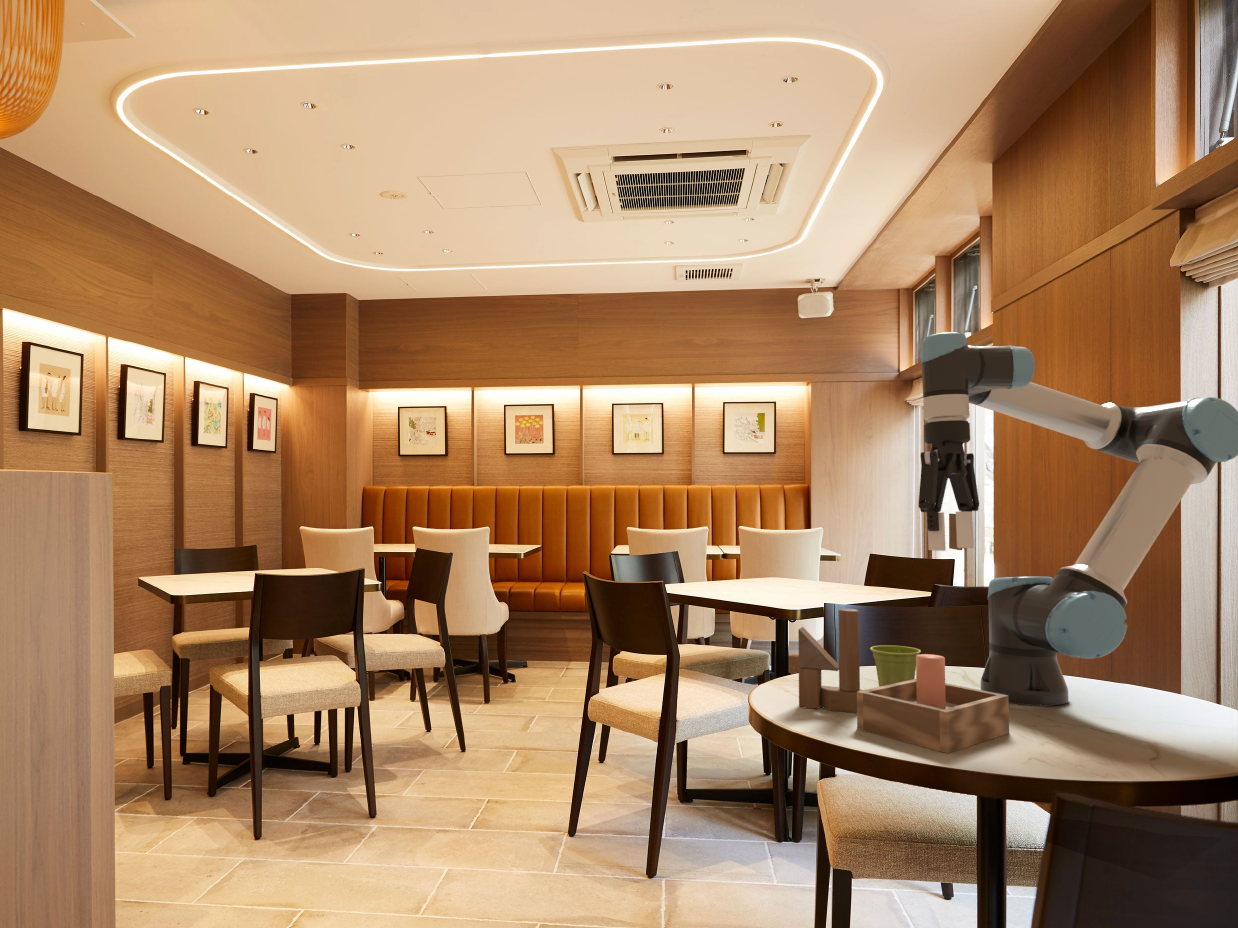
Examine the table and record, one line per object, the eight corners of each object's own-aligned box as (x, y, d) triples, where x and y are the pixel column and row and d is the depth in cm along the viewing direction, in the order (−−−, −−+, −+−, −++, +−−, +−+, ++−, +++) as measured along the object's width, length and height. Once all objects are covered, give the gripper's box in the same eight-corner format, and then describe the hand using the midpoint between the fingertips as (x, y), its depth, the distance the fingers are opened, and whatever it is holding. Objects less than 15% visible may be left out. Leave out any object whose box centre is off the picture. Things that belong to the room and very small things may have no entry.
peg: (926, 725, 131) (925, 653, 132) (951, 731, 127) (950, 657, 128) (911, 730, 128) (910, 656, 129) (936, 736, 125) (935, 660, 125)
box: (920, 712, 140) (919, 677, 140) (1009, 733, 127) (1008, 695, 127) (857, 728, 129) (856, 691, 129) (947, 753, 116) (946, 712, 117)
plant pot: (860, 690, 156) (860, 646, 156) (895, 686, 160) (894, 643, 161) (896, 701, 148) (896, 654, 148) (932, 696, 152) (931, 650, 152)
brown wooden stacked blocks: (802, 703, 146) (801, 605, 147) (862, 709, 142) (861, 608, 143) (798, 707, 143) (797, 608, 144) (859, 714, 138) (858, 611, 139)
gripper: (957, 426, 148) (962, 545, 147) (892, 419, 135) (897, 551, 134) (997, 422, 143) (1002, 546, 141) (933, 415, 129) (938, 552, 128)
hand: (951, 548), depth 138 cm, fingers open, 9 cm apart
